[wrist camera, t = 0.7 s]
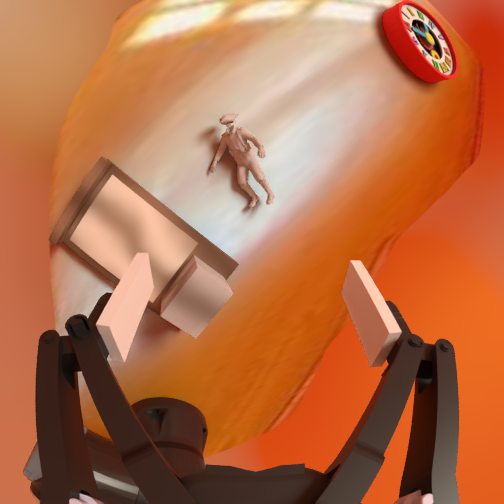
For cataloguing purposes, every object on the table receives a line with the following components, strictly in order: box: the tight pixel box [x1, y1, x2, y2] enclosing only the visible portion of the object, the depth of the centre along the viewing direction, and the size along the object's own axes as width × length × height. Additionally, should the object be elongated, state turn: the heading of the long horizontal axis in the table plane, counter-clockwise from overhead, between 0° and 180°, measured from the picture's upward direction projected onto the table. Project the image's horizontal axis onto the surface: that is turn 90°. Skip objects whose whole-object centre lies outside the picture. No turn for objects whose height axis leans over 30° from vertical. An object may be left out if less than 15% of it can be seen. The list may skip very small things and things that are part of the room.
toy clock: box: [382, 0, 458, 83], centre depth 35 cm, size 20×6×20 cm
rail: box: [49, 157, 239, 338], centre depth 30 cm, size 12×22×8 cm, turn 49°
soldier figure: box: [210, 113, 275, 207], centre depth 33 cm, size 8×5×12 cm
